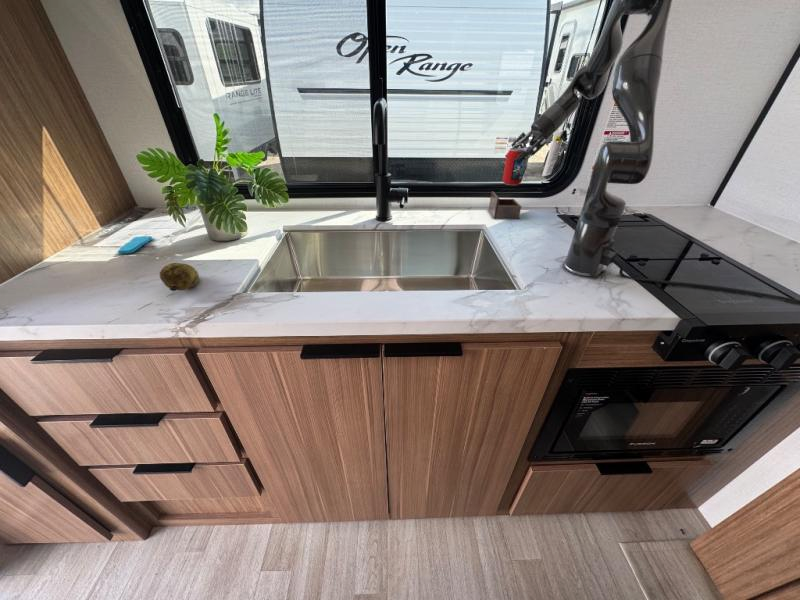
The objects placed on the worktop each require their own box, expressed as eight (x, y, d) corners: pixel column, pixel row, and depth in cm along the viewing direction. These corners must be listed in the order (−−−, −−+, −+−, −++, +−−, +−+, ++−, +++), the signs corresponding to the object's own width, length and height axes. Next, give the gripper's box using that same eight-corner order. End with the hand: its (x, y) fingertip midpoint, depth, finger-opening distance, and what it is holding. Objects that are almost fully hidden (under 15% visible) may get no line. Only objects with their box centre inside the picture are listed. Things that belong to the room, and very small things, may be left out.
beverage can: (516, 186, 117) (523, 151, 111) (499, 184, 121) (504, 149, 114) (523, 183, 122) (530, 148, 115) (506, 180, 125) (511, 147, 119)
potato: (212, 274, 90) (202, 248, 85) (192, 300, 79) (180, 271, 75) (181, 276, 89) (169, 249, 85) (156, 302, 78) (142, 273, 74)
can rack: (511, 210, 136) (515, 191, 131) (518, 218, 128) (522, 198, 123) (488, 210, 136) (491, 191, 131) (494, 218, 128) (497, 198, 123)
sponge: (110, 251, 100) (129, 249, 100) (134, 236, 110) (151, 234, 109) (113, 256, 100) (131, 253, 100) (137, 240, 110) (153, 238, 110)
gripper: (532, 112, 116) (497, 149, 120) (556, 115, 104) (516, 155, 109) (542, 128, 120) (507, 163, 124) (566, 133, 108) (527, 171, 112)
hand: (511, 160), depth 116 cm, fingers closed on beverage can, 7 cm apart
